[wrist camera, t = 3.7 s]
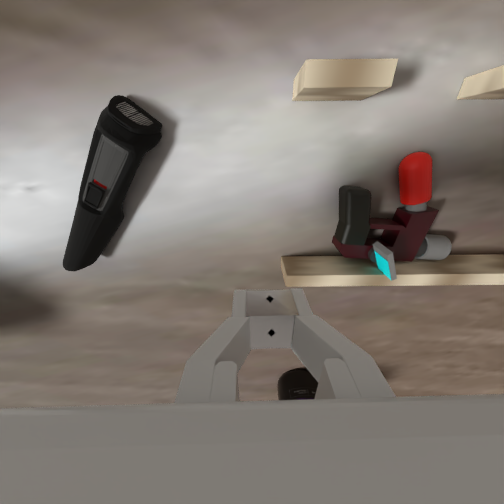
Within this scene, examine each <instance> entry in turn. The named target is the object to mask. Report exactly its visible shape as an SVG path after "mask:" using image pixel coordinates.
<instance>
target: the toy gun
mask: <svg viewBox="0 0 504 504" xmlns="http://www.w3.org/2000/svg"><path fill="white" fill-rule="evenodd" d="M399 188H400V202H401V203H402V204H404V205H405V207H402V208H397V210H396V212H395V215H394V217H393V220H391V219H386V218H370V206H371V192H370V191H369V190H366V189H364V188H361V187H351V186H342V187H340V189H339V222H338V225H337V229H336V232H335V236H333V240H332V243H333V244H334V245H335V247H336V248H337V249H338V250H339V252H340V253H341V254H342V255H343V256H344V257H345V258H361V259H370V260H371V261H372V262H374V263H377V267H378V269H379V270H380V271H381V272H383V273H384V274H385V275H386V276H387V277H388V278H389V279H390V280H391V281H392V280H395V279H397V276H396V270H395V264H394V261H410V262H412V261H413V259H424V260H442V259H444V258H446V257H447V256H448V255H449V254H450V252H451V242H450V240H449V239H448V238H447V237H446V236H443V235H432V234H427V232H428V230H429V229H430V227H431V225H432V223H433V221H434V219H435V217H436V215H437V213H438V211H439V210H437V209H434V208H431V207H428V206H427V201H429V200H430V199H431V197H432V158H431V156H430V155H429V154H427V153H425V152H415V153H412V154H409V155H408V156H406V157H405V158H404V159H403V160H402V161H401V163H400V165H399ZM370 229H384V231H383V234H382V236H381V239H380V238H367V236H368V233H369V230H370Z"/></svg>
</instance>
